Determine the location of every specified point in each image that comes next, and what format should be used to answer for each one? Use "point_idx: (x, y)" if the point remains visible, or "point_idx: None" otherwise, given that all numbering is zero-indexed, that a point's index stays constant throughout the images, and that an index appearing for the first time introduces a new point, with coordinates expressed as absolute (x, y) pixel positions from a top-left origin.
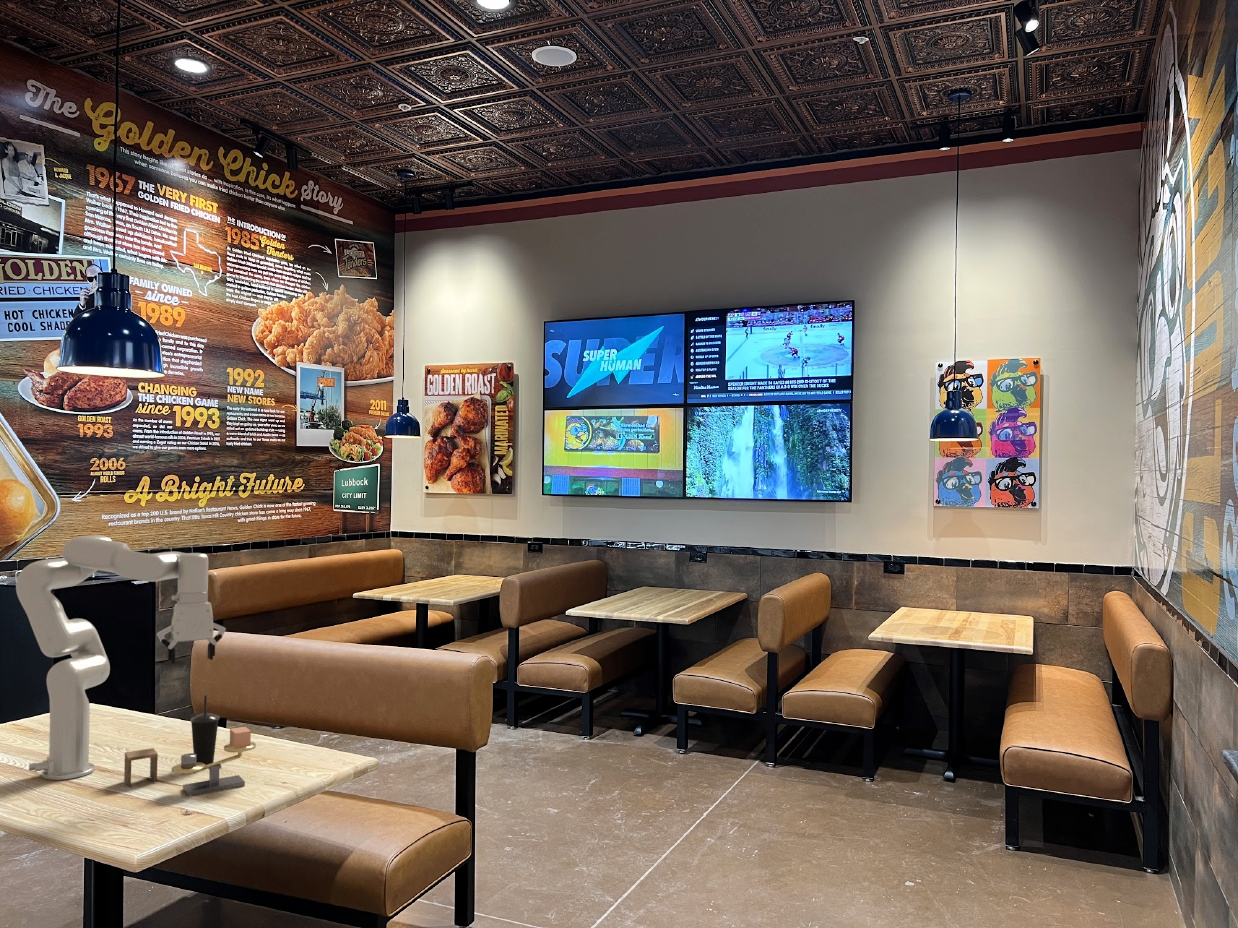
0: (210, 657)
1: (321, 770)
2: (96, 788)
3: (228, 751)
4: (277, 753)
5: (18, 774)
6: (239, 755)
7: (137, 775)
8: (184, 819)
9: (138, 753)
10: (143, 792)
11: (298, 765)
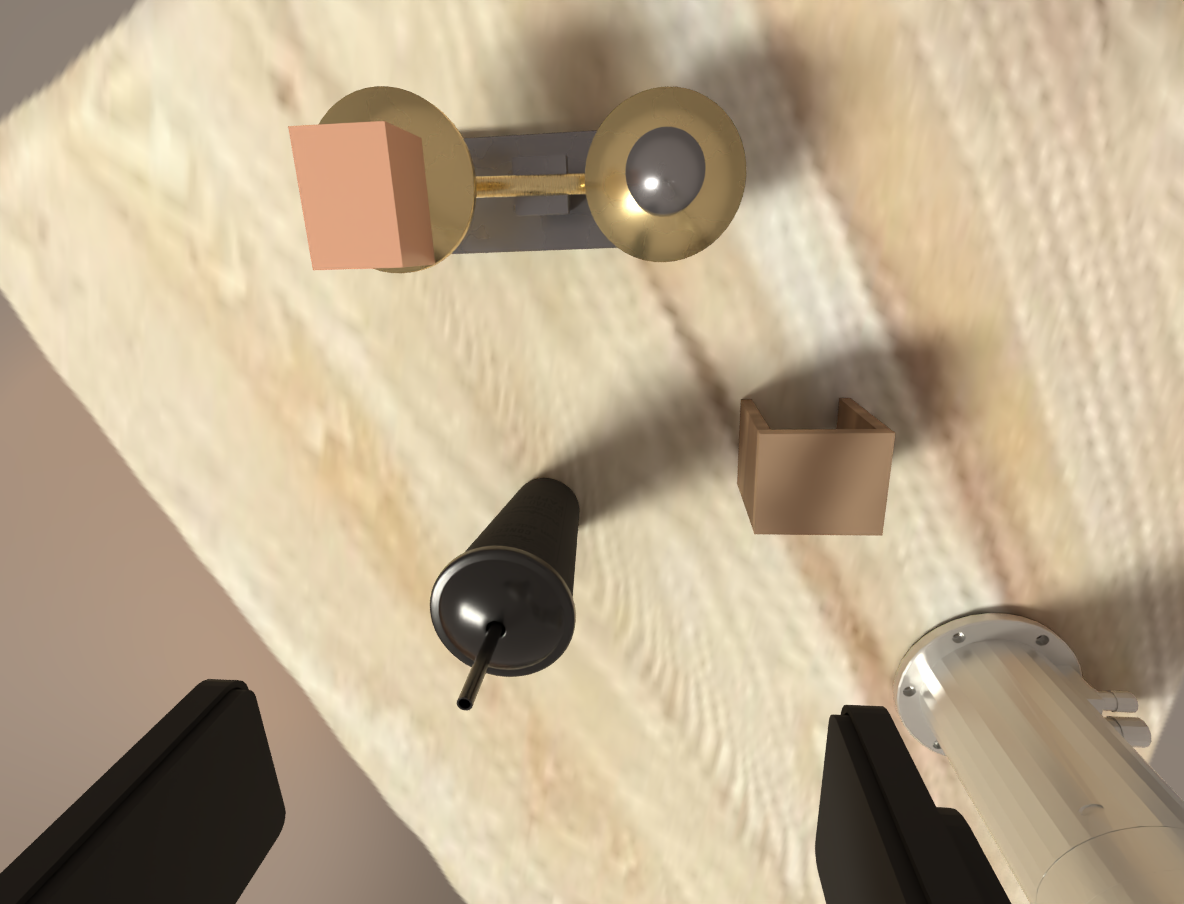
0: (222, 705)
1: (131, 184)
2: (953, 450)
3: (459, 132)
4: (281, 508)
5: None
6: None
7: None
8: None
9: (834, 484)
10: (816, 293)
11: (216, 309)
